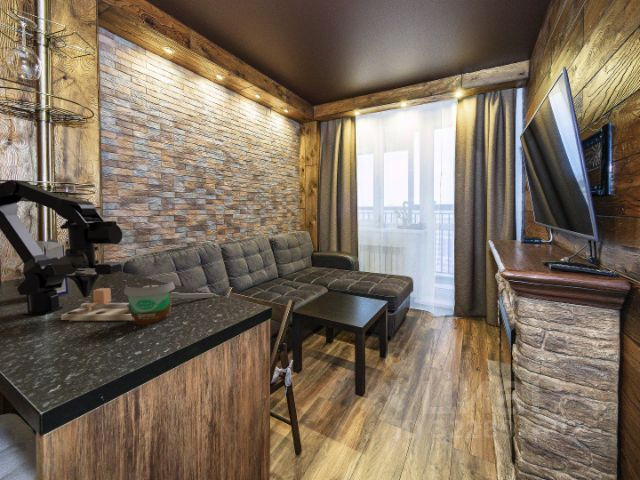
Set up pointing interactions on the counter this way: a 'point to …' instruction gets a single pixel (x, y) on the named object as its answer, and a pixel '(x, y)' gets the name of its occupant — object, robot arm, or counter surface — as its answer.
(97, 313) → the hole plate
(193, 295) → the caliper
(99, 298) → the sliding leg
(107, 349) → the counter surface
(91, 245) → the robot arm
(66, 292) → the milk carton
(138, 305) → the food container
